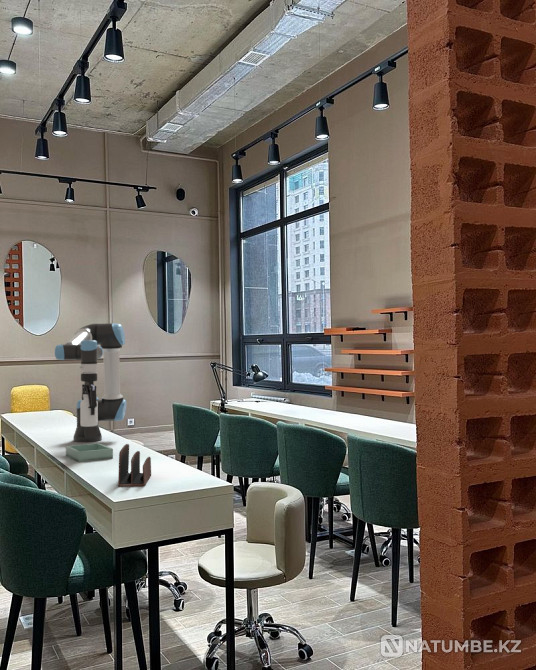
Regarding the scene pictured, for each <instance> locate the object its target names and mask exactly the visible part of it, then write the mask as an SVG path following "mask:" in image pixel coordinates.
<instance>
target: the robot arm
mask: <svg viewBox="0 0 536 670" xmlns="http://www.w3.org/2000/svg"><path fill="white" fill-rule="evenodd" d="M125 344H126V335H125V330H124V327H123V325H122V324H120V323H116V322H115V323H114V322H113V323H112V322H110V323H109V322H108V323H107V322H106V323H90V324H87V325H84V326H82V327H80V328H78V329H77V330H76V331H75V333H74V334H73V336H72V337H71V338H70V339H69V340H68V341H67V342H66V343H65V344H62V343H61V344H57V345H56V346H55V348H54V357H55V359H56V360H58V361H80V366H79V369H80V372H81V374H80V381H81V382H84V383H83V384H82V385H81V399H79V400H78V401H77V402H76V408H75V409H76V429H75V431H74V434H73V442H76V443H91V442H92V443H93V442H99V441H102V439H103V435H102V432H101V429H100V425H99V424H100V423H99V422H121V421H123V420H124V418H125V416H126V411H127V400H126V399H124V395H123V394H121V371H120V369H121V365H120V364H121V363H120V350H122V348H123V345H125ZM102 356H103V387H104V388H103V391H104V392H103V393H104V394H103V395H102V396H101V399H100V398H99V397H97V385H95V383H94V382H97V381H98V360H99V359H101V358H102ZM83 394H87V395H88V398H89V406H90V407H88V408H89V422H95V408H96V407H97V402H98V425H97V426H91V427H83V426H81V424H80V403H81V401H82V400H84V399H83Z"/></svg>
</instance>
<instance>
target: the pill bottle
mask: <svg viewBox="0 0 536 670" xmlns="http://www.w3.org/2000/svg"><path fill="white" fill-rule="evenodd" d="M83 399H84V400H82V399H81V400H82V401H81V403H80V424H81V426H83V427H91V426H97V425H98V423H99V422H98V402H97V407H96V408H95V422H89V408H88V407H90V406H89V398H88V395H87V394H83Z"/></svg>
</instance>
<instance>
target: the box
mask: <svg viewBox="0 0 536 670" xmlns="http://www.w3.org/2000/svg"><path fill="white" fill-rule="evenodd" d="M65 457H68V458H70V459H72V460H74V461H76V462H78V463H81V462H91V461H92V462H93V461H100V460H101V461H102V460H109V459H110V460H112V459H114V448H112V447H110V446H106V445H105V444H102V443H99V442H96V443H87V444H86V443H85V444H77V445H75V444H74V445H65Z"/></svg>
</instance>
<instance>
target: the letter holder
mask: <svg viewBox="0 0 536 670" xmlns="http://www.w3.org/2000/svg"><path fill="white" fill-rule="evenodd" d="M129 460H130V461H129ZM151 461H152V458H151V456H148V457H146V459H145V460H144V463H143V465H142V472H141V469H140V468H141V453H140V450H137V451H136V452H134V453H133V455H132V457H131V459H130V444H129V443H126V444H124V445H123V447H121V449H120V451H119V453H118V485H117V486H118V488H122V487H123V488H124V487H125V488H127V487H129V488H130V487H132V488H133V487H138V488H139V487H146V485H147V483H148V481H149V480H150V479H151V477H152V462H151ZM129 463H130V464H129ZM129 465H130V472H129Z"/></svg>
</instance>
